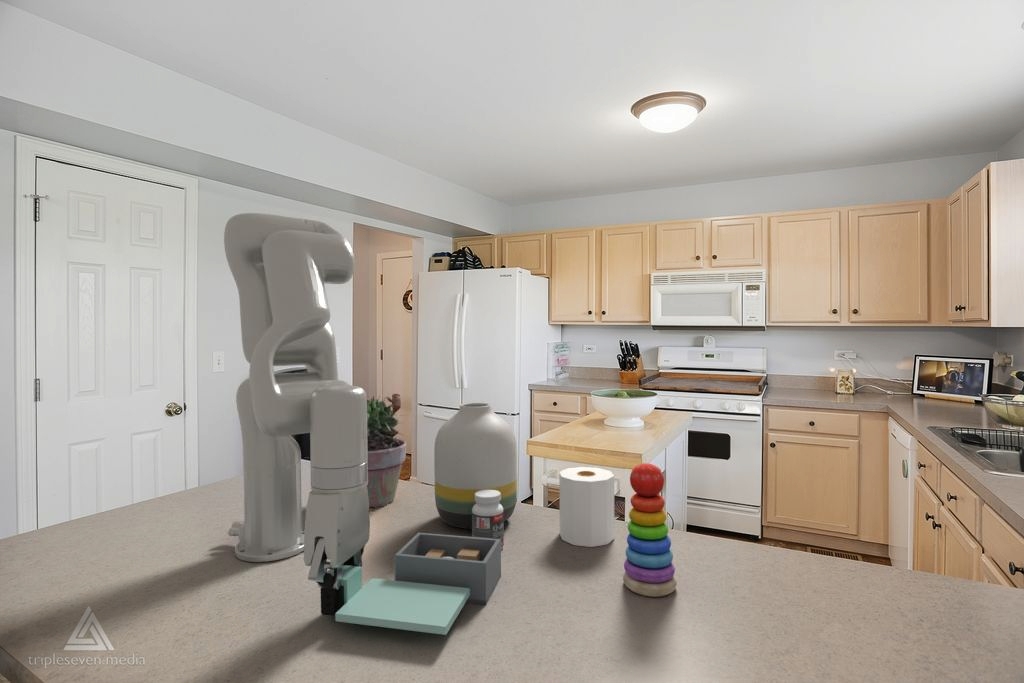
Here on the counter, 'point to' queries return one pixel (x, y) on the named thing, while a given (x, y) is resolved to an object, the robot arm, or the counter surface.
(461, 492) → the vase
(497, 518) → the pill bottle
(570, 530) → the toilet paper
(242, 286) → the robot arm
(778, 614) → the counter surface
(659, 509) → the stacking toy
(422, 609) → the mint slab with cube
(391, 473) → the potted plant
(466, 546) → the tub
